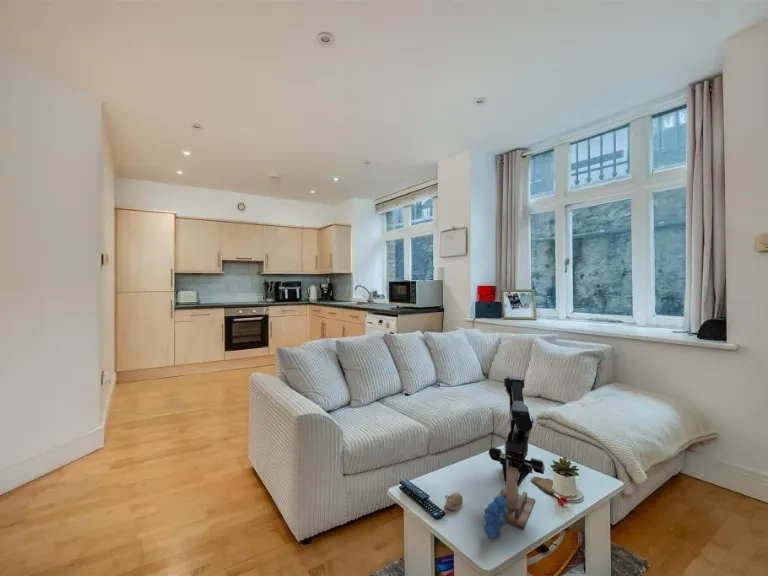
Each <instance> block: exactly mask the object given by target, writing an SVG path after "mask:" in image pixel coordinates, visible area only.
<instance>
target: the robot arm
mask: <svg viewBox="0 0 768 576" xmlns="http://www.w3.org/2000/svg"><path fill="white" fill-rule="evenodd" d="M525 384H526V383H525V379H522V377H519V376H508V375H507V376H506V378H503V387H505V392H506V394H507V395H508V398H509V416H508V417H509V427H510V428H509V432H508V434H507V436H506V440H505V441H504V453H503V450H502V449H500V448H497V447H493V446H491V447H490V448H489V449H488V455H489V457H490V459H491V460H493V461H495V462H499V464H500V465H502V466H501V467H502V471H503V472H502V473H503V481H504V483H505V484H506V478H507V470H508V468H509V467H510V466H511V467H514V468H518V473H519V474H518V483H517V486H518V488H519V487H520V486H521V484H522V483H523V481H524V480H525V478H526V477H527V476H528V475H529V474H533V473H534V472H535V473H538V474H542V475H544V474H545V468H546V467H545V464H544V461H543V460H542V459H538V458H535V457H531V458H530V460H529V459H526V458H527V456H528V452H529V439H530V436H531V435H530V434H531V432H532V429H533V424H534V418H533V416H532V414H531V413H530V411H529V407H528V406H527V405H526V404H525V402H524V394H523V393H524V392H523V390H524V389H525V387H526V386H525ZM533 471H534V472H533Z"/></svg>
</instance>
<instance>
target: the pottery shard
mask: <svg viewBox="0 0 768 576" xmlns="http://www.w3.org/2000/svg"><path fill="white" fill-rule="evenodd" d="M530 482H531V483H533V484H534V485H535V486H537V487H538V488H539V489H540V490H542V491H543V492H545V493H548V494H550V495H551V494H554V493H555V492H554V491H553V489H552V486H553V479H550V478H543V477H541V476H533V477H531V478H530Z"/></svg>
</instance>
